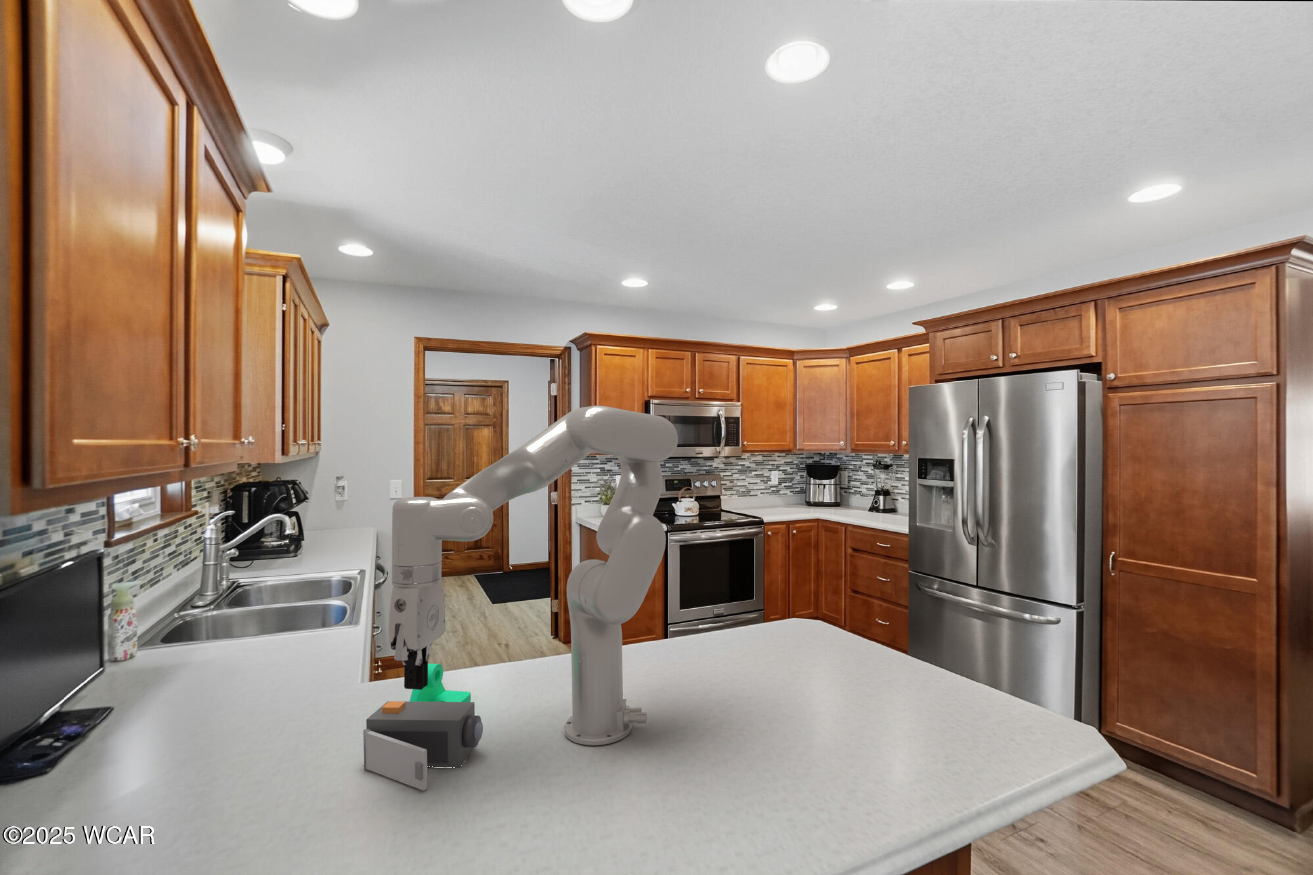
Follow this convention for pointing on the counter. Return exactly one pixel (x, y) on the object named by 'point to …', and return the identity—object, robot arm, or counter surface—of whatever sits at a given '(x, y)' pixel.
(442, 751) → the camera body
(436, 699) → the camera mount
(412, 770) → the door
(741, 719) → the counter surface
